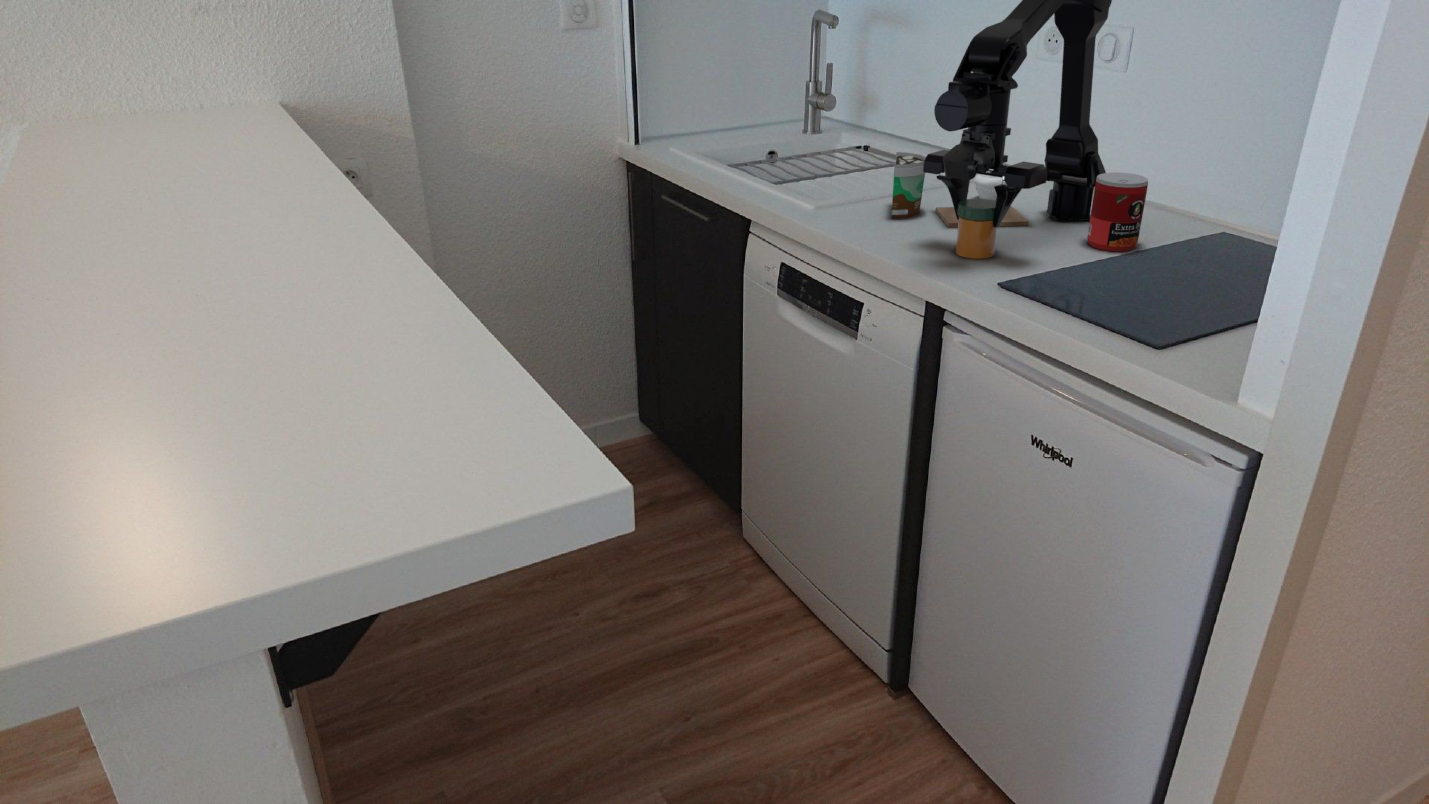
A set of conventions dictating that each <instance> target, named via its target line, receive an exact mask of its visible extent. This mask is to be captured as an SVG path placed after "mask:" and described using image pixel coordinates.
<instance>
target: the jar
mask: <svg viewBox="0 0 1429 804" xmlns="http://www.w3.org/2000/svg"><path fill="white" fill-rule="evenodd" d="M997 230H998V227H994V220H985V221H978V220H969V219H964V218H962V217H959V222H958V227H957V234H956V235H957V236H956V245H955V254H956V255H958V256H960V257H961V258H967V259H973V260H978V259H979V260H980V259H988V258H991V257H994V255H995V249H996V241H997Z"/></svg>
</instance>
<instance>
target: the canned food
mask: <svg viewBox="0 0 1429 804" xmlns="http://www.w3.org/2000/svg"><path fill="white" fill-rule="evenodd" d="M1148 187H1149V179H1148V177H1145V176H1143V175H1140V174H1136V173H1128V172H1106V173H1103V174H1100V175H1098V176H1097V179H1096V184H1095V187H1094V191H1093V197H1092V204H1091V210H1090V215H1091V216H1090V220H1089V225H1088V230H1087V236H1086V239H1087V244H1088V245H1090V247H1092V248H1094V249H1096V250H1097V249H1098V250H1101V251H1107V252H1108V251H1109V252H1128V251H1131V250H1134V249H1135V248H1136V246H1137V244H1138V243H1139V237H1140V231H1141V228H1142V227H1141V226H1142V221H1143V217H1144V216H1143V215H1144V209H1145V205H1146V199H1147V195H1148Z"/></svg>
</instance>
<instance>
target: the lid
mask: <svg viewBox="0 0 1429 804" xmlns="http://www.w3.org/2000/svg"><path fill="white" fill-rule="evenodd" d="M995 206H996V201H994V200H989V199H980V198H967V199H965V200H962V201H960V202H959V206H958V211H957V214H958V216H959V217H962V218H964V219H969V220H978V221H985V220H994V213H995Z"/></svg>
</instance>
